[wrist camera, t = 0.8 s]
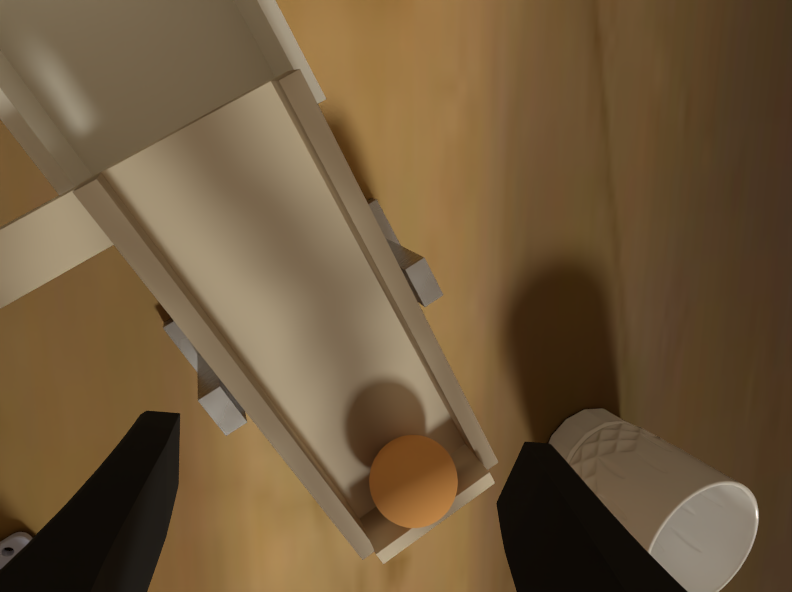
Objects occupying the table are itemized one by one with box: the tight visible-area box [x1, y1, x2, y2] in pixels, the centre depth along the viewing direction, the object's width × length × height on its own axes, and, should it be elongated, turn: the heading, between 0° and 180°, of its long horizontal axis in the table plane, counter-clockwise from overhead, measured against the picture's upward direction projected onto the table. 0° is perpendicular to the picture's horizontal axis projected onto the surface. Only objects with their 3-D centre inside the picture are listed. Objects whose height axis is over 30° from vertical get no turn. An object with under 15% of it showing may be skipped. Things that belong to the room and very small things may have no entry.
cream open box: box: [0, 0, 326, 195], centre depth 21 cm, size 10×11×5 cm
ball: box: [369, 435, 458, 528], centre depth 25 cm, size 4×4×4 cm
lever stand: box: [163, 198, 443, 436], centre depth 26 cm, size 12×6×6 cm, turn 117°
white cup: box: [548, 408, 759, 592], centre depth 34 cm, size 8×8×10 cm
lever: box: [0, 69, 498, 564], centre depth 21 cm, size 19×21×3 cm
